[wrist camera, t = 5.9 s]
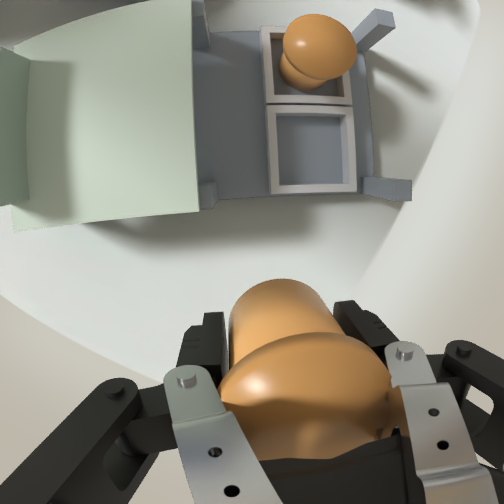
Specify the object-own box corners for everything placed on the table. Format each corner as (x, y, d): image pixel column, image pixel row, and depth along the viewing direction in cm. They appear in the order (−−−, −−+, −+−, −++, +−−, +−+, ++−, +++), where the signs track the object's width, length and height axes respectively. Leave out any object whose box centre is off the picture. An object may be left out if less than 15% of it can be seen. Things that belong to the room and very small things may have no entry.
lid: (18, 47, 14) (-14, 33, 10) (192, -2, 14) (183, -37, 10) (18, 230, 17) (-18, 244, 13) (199, 210, 18) (190, 221, 14)
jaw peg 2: (212, 273, 11) (199, 361, 6) (338, 263, 12) (412, 334, 6) (224, 377, 13) (224, 482, 7) (332, 365, 13) (377, 458, 8)
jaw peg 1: (271, 42, 21) (281, 11, 15) (329, 45, 21) (351, 18, 16) (275, 95, 22) (287, 75, 17) (334, 97, 22) (360, 79, 17)
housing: (59, 69, 21) (18, 49, 14) (358, 42, 22) (392, 12, 15) (63, 215, 24) (19, 230, 18) (370, 192, 25) (411, 201, 19)
